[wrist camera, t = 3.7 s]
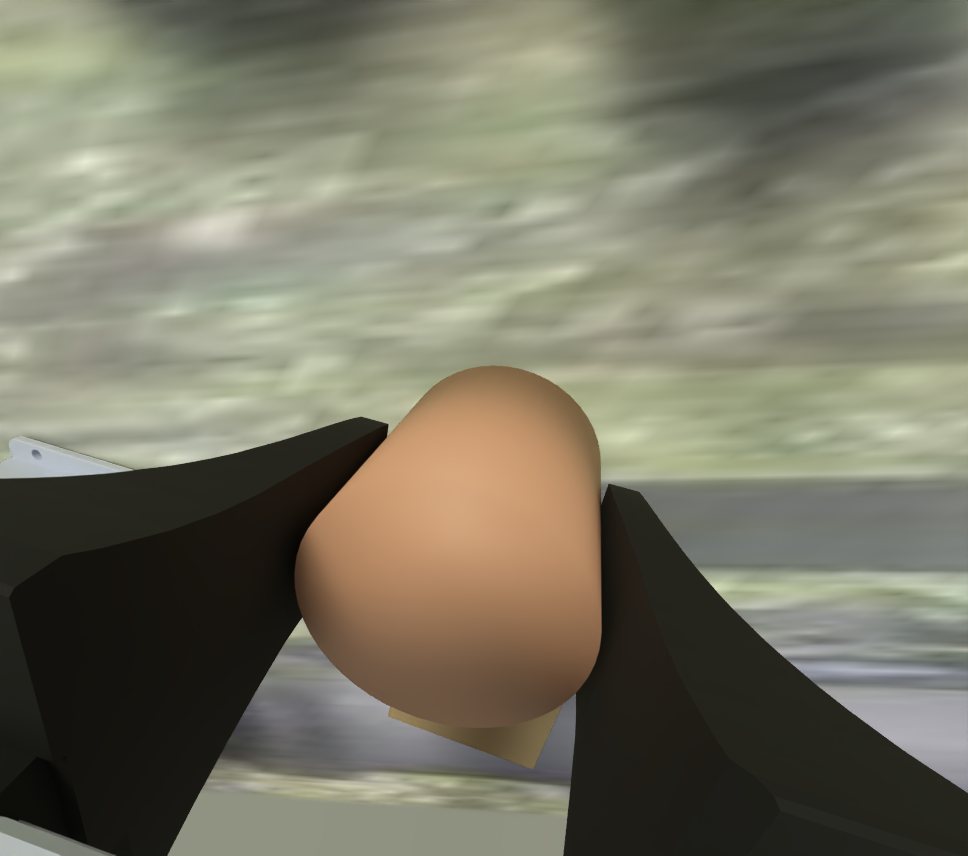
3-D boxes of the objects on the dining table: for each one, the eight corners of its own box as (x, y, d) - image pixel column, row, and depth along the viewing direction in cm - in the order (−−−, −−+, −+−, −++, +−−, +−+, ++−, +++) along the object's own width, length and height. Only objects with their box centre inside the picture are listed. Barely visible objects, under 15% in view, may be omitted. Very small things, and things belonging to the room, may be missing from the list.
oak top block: (408, 667, 23) (387, 716, 21) (433, 564, 20) (413, 607, 18) (539, 714, 22) (532, 769, 20) (582, 614, 20) (580, 665, 18)
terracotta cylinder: (393, 515, 13) (289, 675, 9) (418, 343, 11) (299, 438, 7) (570, 565, 13) (554, 762, 8) (628, 395, 11) (647, 535, 6)
